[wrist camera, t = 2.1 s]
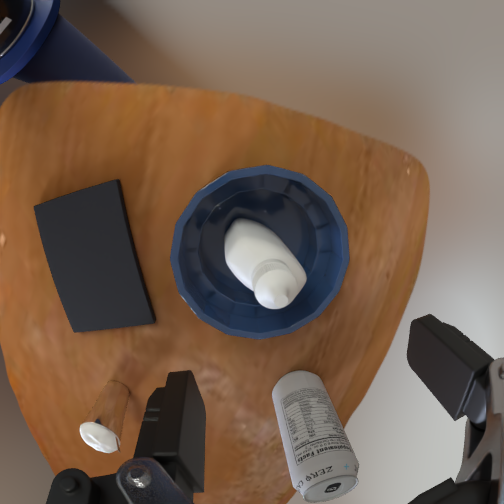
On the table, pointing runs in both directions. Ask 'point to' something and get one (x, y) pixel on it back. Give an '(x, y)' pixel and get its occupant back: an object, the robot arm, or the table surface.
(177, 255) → the bowl
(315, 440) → the energy drink can
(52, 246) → the mat
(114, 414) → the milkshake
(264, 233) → the eye dropper bottle
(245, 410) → the table surface
